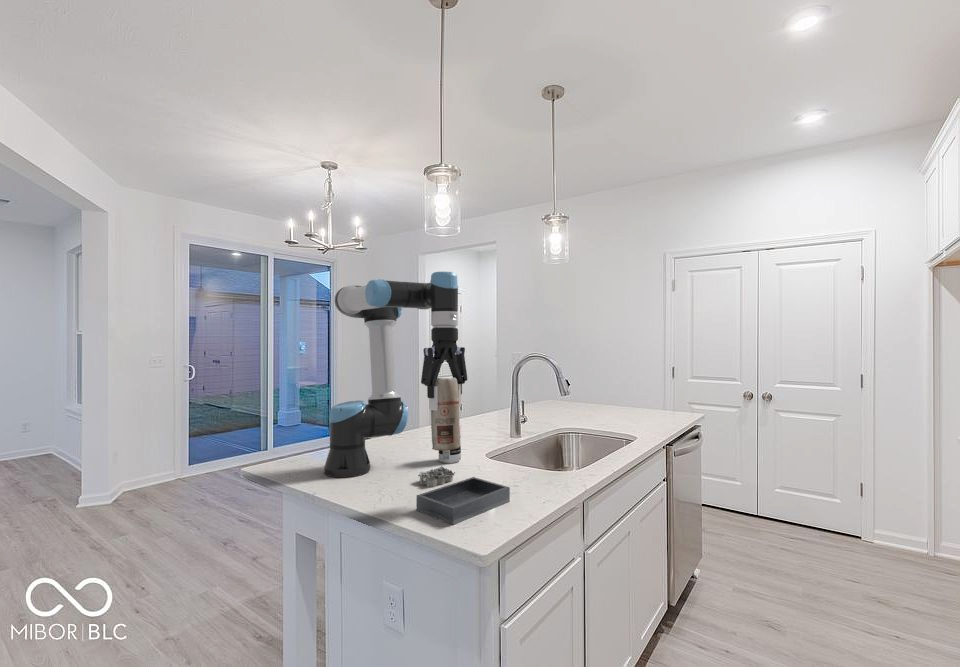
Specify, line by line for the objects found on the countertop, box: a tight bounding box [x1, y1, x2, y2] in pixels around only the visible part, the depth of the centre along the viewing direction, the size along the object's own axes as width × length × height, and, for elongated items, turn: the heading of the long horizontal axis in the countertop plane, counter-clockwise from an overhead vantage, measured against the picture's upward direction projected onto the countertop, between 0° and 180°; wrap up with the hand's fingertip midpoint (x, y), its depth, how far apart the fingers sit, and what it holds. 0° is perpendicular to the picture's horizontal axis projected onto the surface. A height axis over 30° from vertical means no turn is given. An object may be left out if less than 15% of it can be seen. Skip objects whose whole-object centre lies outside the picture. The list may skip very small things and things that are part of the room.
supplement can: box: [438, 420, 462, 464], centre depth 173 cm, size 8×8×15 cm
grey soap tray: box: [415, 476, 511, 526], centre depth 127 cm, size 22×14×4 cm, turn 137°
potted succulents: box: [417, 465, 456, 488], centre depth 148 cm, size 11×8×4 cm
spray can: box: [430, 377, 462, 452], centre depth 131 cm, size 8×8×20 cm
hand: (445, 408), depth 131 cm, fingers closed on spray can, 8 cm apart
